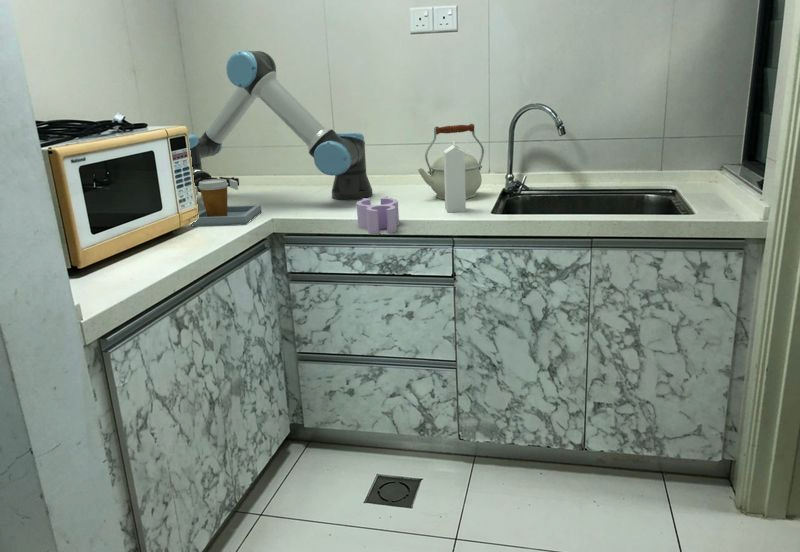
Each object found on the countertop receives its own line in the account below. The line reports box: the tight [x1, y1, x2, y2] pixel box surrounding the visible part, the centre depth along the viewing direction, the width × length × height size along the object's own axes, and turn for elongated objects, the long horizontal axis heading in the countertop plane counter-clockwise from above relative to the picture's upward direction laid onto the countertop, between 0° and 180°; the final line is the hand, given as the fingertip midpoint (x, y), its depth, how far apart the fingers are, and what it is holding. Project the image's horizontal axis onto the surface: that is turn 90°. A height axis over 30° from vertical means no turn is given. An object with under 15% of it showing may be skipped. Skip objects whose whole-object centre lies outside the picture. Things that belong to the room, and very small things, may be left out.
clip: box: [356, 196, 400, 235], centre depth 196 cm, size 20×12×7 cm, turn 9°
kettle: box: [417, 123, 485, 201], centre depth 231 cm, size 25×18×25 cm
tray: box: [190, 204, 262, 227], centre depth 216 cm, size 18×18×3 cm
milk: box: [443, 140, 467, 213], centre depth 209 cm, size 6×6×22 cm
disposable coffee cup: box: [198, 178, 229, 217], centre depth 214 cm, size 10×10×12 cm
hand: (216, 188), depth 219 cm, fingers open, 13 cm apart
